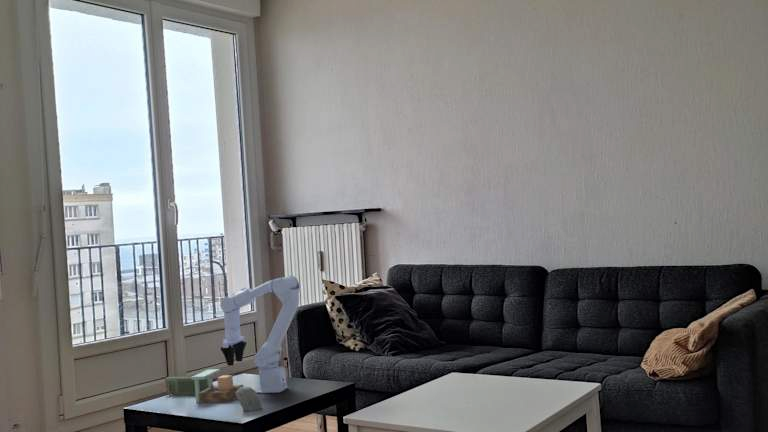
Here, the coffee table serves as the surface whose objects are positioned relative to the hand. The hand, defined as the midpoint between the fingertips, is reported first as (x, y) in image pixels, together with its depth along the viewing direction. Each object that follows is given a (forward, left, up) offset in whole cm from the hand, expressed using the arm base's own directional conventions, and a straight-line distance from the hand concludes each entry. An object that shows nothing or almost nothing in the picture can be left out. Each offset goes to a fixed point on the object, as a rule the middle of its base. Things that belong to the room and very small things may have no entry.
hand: (234, 363), depth 303 cm
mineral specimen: (-19, +30, -11) cm, 37 cm away
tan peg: (-1, +12, -10) cm, 16 cm away
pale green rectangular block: (+6, +12, -10) cm, 17 cm away
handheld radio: (+16, +3, -11) cm, 19 cm away
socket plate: (0, +12, -10) cm, 16 cm away
